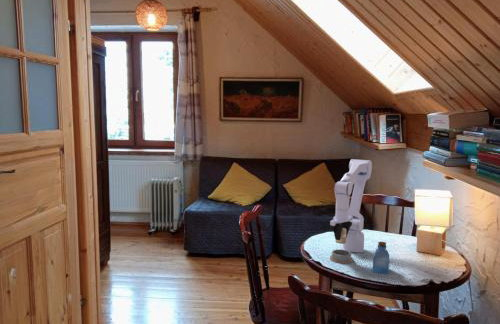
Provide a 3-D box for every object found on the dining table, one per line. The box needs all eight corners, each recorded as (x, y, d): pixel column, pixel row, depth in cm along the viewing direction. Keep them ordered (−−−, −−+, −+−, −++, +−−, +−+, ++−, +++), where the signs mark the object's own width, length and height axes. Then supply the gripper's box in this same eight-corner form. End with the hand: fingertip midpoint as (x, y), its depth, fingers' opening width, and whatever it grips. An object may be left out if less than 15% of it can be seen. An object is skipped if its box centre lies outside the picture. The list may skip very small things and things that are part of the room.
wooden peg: (344, 240, 184) (345, 227, 183) (346, 243, 180) (347, 230, 179) (334, 240, 184) (335, 227, 183) (336, 243, 180) (337, 230, 179)
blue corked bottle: (388, 268, 172) (390, 241, 171) (388, 274, 166) (390, 246, 165) (373, 266, 174) (374, 239, 173) (372, 272, 168) (374, 244, 167)
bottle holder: (349, 255, 187) (350, 249, 187) (355, 263, 177) (355, 256, 177) (328, 255, 187) (328, 248, 187) (331, 263, 178) (332, 256, 177)
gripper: (343, 204, 188) (342, 233, 189) (324, 209, 178) (323, 239, 180) (357, 207, 183) (355, 236, 184) (338, 212, 173) (337, 243, 175)
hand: (340, 238), depth 182 cm, fingers closed on wooden peg, 4 cm apart
